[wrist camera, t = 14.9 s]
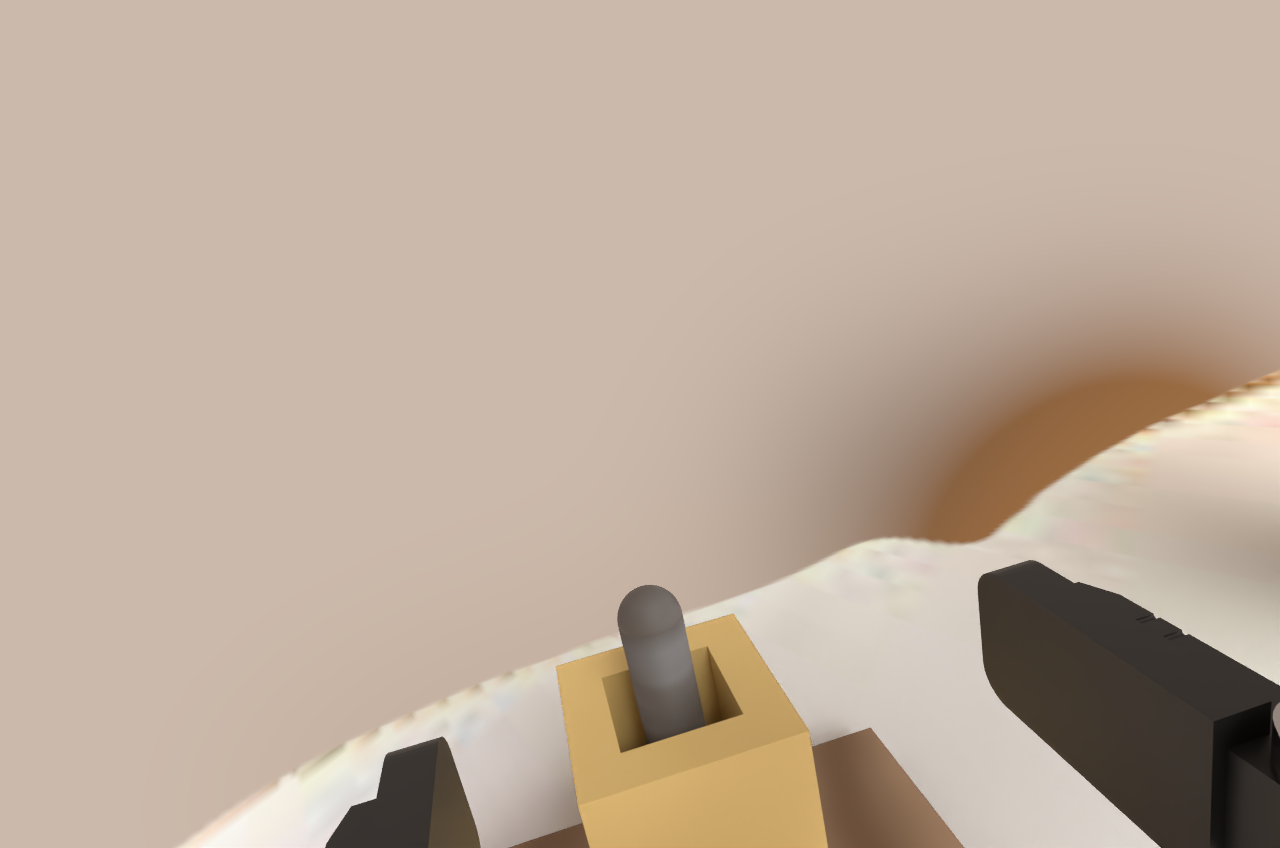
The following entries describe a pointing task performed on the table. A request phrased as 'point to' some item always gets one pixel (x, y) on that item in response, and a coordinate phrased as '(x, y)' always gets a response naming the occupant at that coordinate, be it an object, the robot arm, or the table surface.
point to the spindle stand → (845, 767)
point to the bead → (692, 755)
